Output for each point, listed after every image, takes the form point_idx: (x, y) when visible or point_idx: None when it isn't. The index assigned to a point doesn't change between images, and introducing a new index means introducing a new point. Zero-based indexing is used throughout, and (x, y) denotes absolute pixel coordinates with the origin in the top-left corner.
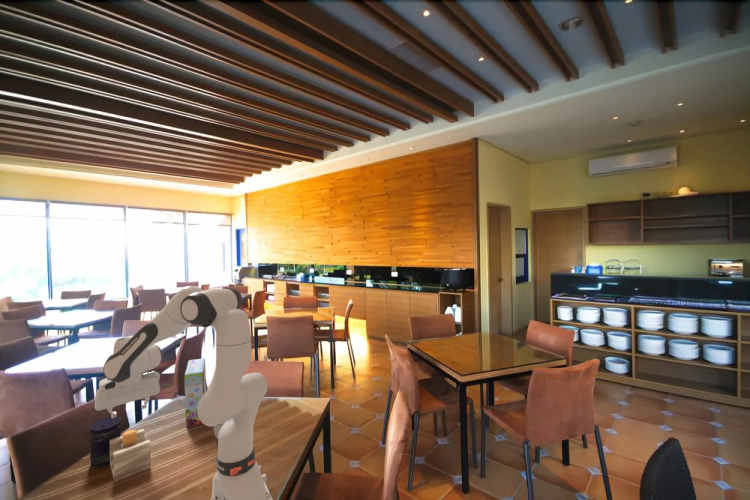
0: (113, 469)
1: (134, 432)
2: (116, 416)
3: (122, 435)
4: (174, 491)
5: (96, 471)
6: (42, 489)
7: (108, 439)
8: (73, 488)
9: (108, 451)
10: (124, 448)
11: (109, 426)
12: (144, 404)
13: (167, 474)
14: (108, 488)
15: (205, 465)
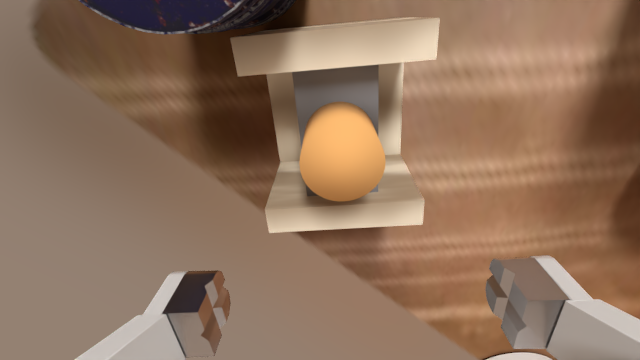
0: (278, 130)
1: (368, 176)
2: (226, 314)
3: (300, 167)
4: (415, 308)
5: (218, 45)
6: (46, 39)
7: (223, 30)
8: (163, 117)
9: (243, 25)
10: (311, 207)
11: (193, 11)
12: (545, 346)
13: (425, 237)
14: None
15: None
